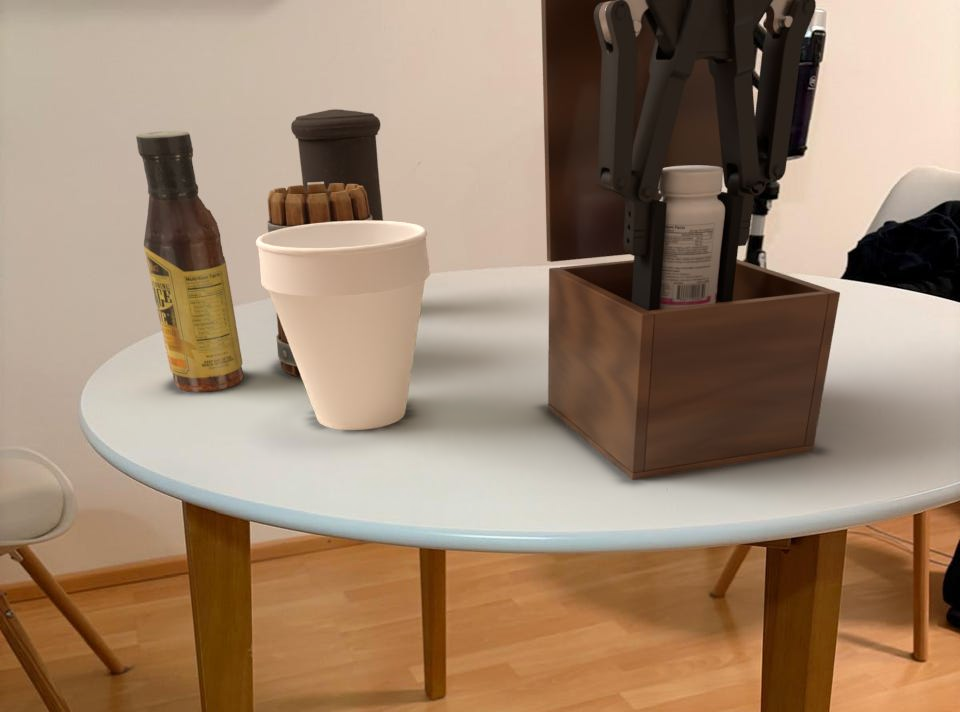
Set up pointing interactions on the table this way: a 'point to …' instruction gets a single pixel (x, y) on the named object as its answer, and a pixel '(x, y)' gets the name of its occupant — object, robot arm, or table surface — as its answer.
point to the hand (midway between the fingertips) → (681, 301)
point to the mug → (311, 209)
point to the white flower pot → (349, 313)
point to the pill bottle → (691, 235)
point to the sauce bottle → (188, 269)
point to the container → (340, 151)
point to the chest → (688, 369)
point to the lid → (575, 130)
